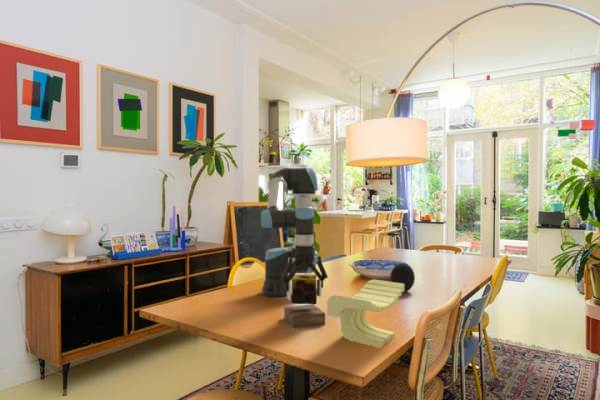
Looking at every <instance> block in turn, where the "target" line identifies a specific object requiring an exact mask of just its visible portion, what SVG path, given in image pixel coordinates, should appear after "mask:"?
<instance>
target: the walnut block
mask: <svg viewBox="0 0 600 400" xmlns="http://www.w3.org/2000/svg"><path fill="white" fill-rule="evenodd" d="M283 317H284V318H283V319H284V320H285V321H286V322H287V323H288V324H289V325H290V326H291V328H293V329H300V328H308V327H309V328H310V327H317V326H318V327H319V326H325V325H326V313H325V312H324V311H323V310H321V309H320V307H318V306H317V305H316V304H301V305H295V306H293V305H291V306H284V307H283Z"/></svg>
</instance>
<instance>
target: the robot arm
mask: <svg viewBox="0 0 600 400" xmlns="http://www.w3.org/2000/svg"><path fill="white" fill-rule="evenodd" d="M270 176H271V177H270V178H269V179H268V182H267V188H268V198H267V207H266V209H265V210H264V209H263V210H262V211H261V212H260V213H261V214H260V225H261V227H262V228H266V229H294V233H295V234H294V245H292V247H291V250H289V249H288V247H276V248H270V249H268V250H267V251H266V252H265V258H264V260H265V261H264V263H265V265H264V266H265V269H264V271H265V272H264V273H265V275H264V276H265V279H264V281H263V285H262V288H261V295H262V296H264V297H271V298H279V297H280V298H281V297H286V298H287V300H289V301H290V300H291V293H292V278H293V276H294V275H295V274H313V273H314V275H316V289H317V297H322V289H323V288H324V281H325V280H326V279H328V274H327V271H326V269H325V268H324V264H323V263H322V257H321V256H320V255H318V251H317V250H316V249H315V246H314V241H315V238H314V237H315V236H314V235H315V234H314V231H315V229H314V227H315V225H314V224H315V210H314V207H312V206H313V197H314V196H315V195H316V193H315V192H317V191H318V188H319V187H318V179H317V173H316V170H315V169H314V168H310V167H309V168H308V167H300V168H299V167H295V168H294V167H293V168H292V167H289V168H288V167H286V168H285V167H284V168H281V169H279V170H276V172H274V173H273V174H272V175H270ZM286 191H289V192H290V191H291V193H292V196H293V197H294V199H295V201H294V204H295V205H294V206H295V207H294V208H295V209H293V210H290V209H289V210H285V198H286V197H285V194H286ZM317 266H318V269H319V270H318V269H317Z"/></svg>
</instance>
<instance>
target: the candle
mask: <svg viewBox="0 0 600 400" xmlns="http://www.w3.org/2000/svg"><path fill="white" fill-rule="evenodd" d="M317 298H318V295H317V276H316V274H311V273H306V274H305V273H296V274H295V275H294V276H293V278H292V279H291V301H290V303H291V304H292V305H293V304H294V305H312V304H314V305H317V302H318V301H317Z"/></svg>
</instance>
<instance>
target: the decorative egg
mask: <svg viewBox="0 0 600 400" xmlns="http://www.w3.org/2000/svg"><path fill="white" fill-rule="evenodd" d="M390 282H396V283H402V284H404V292H403V293H406V292H408V291H410V290H411V289H412V287H413V286H414V285H415V272H414V270H413V268H412V267H411V266H410V265H409V264H407V263H404V262H401V263H397V264H396V265H395V266H394V267H393V268H392V269H391V272H390Z"/></svg>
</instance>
